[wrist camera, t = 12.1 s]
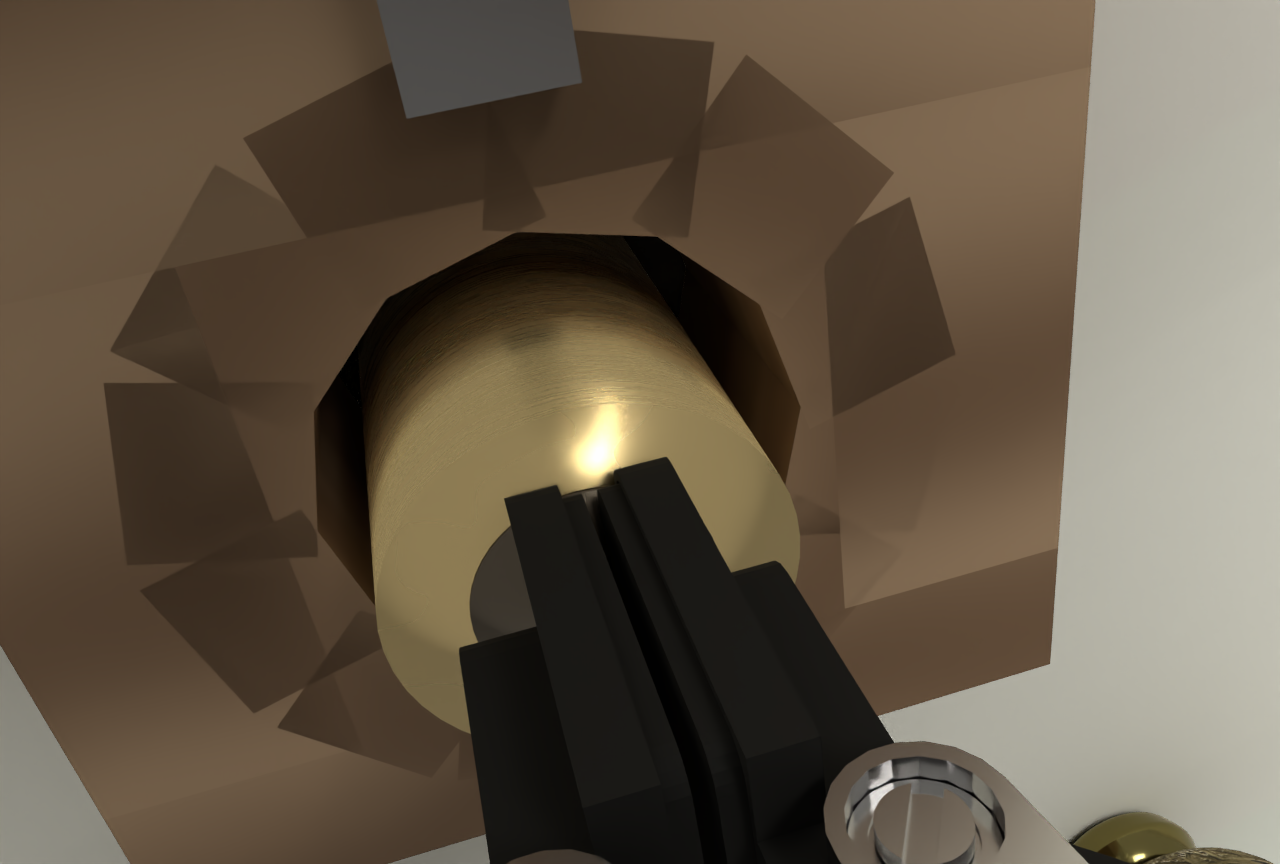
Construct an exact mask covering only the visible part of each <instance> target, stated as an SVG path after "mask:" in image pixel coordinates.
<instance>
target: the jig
mask: <svg viewBox="0 0 1280 864" xmlns="http://www.w3.org/2000/svg"><path fill="white" fill-rule="evenodd" d="M1094 12H1095V0H0V645H1V647H2V649H3V650H4V652H5V654H6V655H7V657H8V659H9V660H10V662H11V664H12V665H13V667H14V669H15V670H16V672H17V674H18V676H19V677H20V679H21V681H22V682H23V684H24V686H25V687H26V689H27V691H28V692H29V694H30V696H31V697H32V699H33V701H34V702H35V704H36V706H37V707H38V709H39V711H40V712H41V714H42V716H43V718H44V719H45V721H46V723H47V724H48V726H49V728H50V729H51V731H52V733H53V734H54V736H55V738H56V739H57V741H58V743H59V744H60V746H61V748H62V749H63V751H64V753H65V755H66V756H67V758H68V760H69V761H70V763H71V765H72V766H73V768H74V770H75V771H76V773H77V775H78V776H79V778H80V780H81V781H82V783H83V785H84V786H85V788H86V790H87V791H88V793H89V795H90V797H91V798H92V800H93V802H94V803H95V805H96V807H97V808H98V810H99V812H100V813H101V815H102V817H103V818H104V820H105V822H106V823H107V825H108V827H109V828H110V830H111V832H112V833H113V835H114V837H115V839H116V840H117V842H118V844H119V845H120V847H121V849H122V850H123V852H124V854H125V855H126V857H127V859H128V860H129V862H130V864H388V863H392V862H395V861H398V860H401V859H405V858H408V857H411V856H415V855H418V854H421V853H425V852H428V851H431V850H435V849H438V848H441V847H445V846H448V845H451V844H455V843H458V842H461V841H464V840H468V839H471V838H474V837H478V836H481V835H484V834H486V832H485V826H484V819H483V812H482V806H481V799H480V792H479V785H478V779H477V772H476V765H475V759H474V752H473V745H472V739H471V734H469V733H467V732H464V731H462V730H459V729H458V728H456V727H454V726H452V725H450V724H448V723H446V722H445V721H443V720H441V719H439V718H438V717H437V716H435V715H434V714H432V713H431V712H430V711H428V710H427V709H426V708H424V707H423V706H422V705H421V704H420V703H419V702H418V701H417V700H416V699H415V698H414V697H413V696H412V695H411V694H410V693H409V692H408V691H407V690H406V689H405V688H404V686H403V685H402V683H401V682H400V681H399V679H398V678H397V676H396V675H395V674H394V672H393V670H392V668H391V666H390V664H389V662H388V660H387V658H386V656H385V654H384V651H383V647H382V644H381V640H380V637H379V633H378V627H377V617H376V607H375V592H374V578H373V563H372V549H371V534H370V520H369V505H368V491H367V476H366V462H365V447H364V433H363V418H362V409H361V408H360V406H359V405H358V403H357V402H356V400H355V399H354V398H353V396H352V395H351V393H350V392H349V390H348V389H347V387H346V386H345V384H344V383H343V381H342V380H341V378H340V377H339V376H338V373H339V371H340V370H341V368H342V367H343V365H344V364H345V362H346V361H347V359H348V357H349V356H350V354H351V353H352V351H353V350H354V348H355V346H356V345H357V343H358V342H359V340H360V339H361V337H362V336H363V334H364V332H365V331H366V329H367V328H368V326H369V325H370V323H371V321H372V320H373V318H374V317H375V315H376V314H377V312H378V311H379V309H380V307H381V306H382V304H383V303H384V301H385V300H386V298H388V297H390V296H392V295H394V294H396V293H398V292H400V291H402V290H404V289H406V288H408V287H410V286H411V285H413V284H415V283H417V282H419V281H421V280H423V279H425V278H427V277H429V276H431V275H433V274H435V273H437V272H439V271H441V270H443V269H445V268H447V267H449V266H451V265H453V264H454V263H456V262H458V261H460V260H462V259H464V258H466V257H468V256H470V255H472V254H474V253H476V252H478V251H480V250H482V249H484V248H486V247H488V246H490V245H492V244H494V243H496V242H498V241H499V240H501V239H503V238H505V237H507V236H509V235H511V234H513V233H515V232H538V233H568V234H598V235H628V236H657V237H659V238H660V239H662V240H663V241H665V242H666V243H668V244H669V245H671V246H672V247H674V248H675V249H677V250H678V251H679V253H680V255H681V257H682V260H683V262H684V264H685V275H684V282H683V289H682V297H681V304H680V311H679V319H678V321H679V323H680V324H681V326H682V327H683V329H684V330H685V332H686V333H687V335H688V336H689V338H690V339H691V341H692V342H693V344H694V346H695V347H696V349H697V350H698V352H699V353H700V355H701V356H702V358H703V359H704V361H705V362H706V364H707V365H708V367H709V368H710V370H711V371H712V373H713V374H714V376H715V378H716V379H717V381H718V382H719V384H720V385H721V387H722V388H723V390H724V391H725V393H726V394H727V396H728V397H729V399H730V400H731V402H732V403H733V405H734V406H735V408H736V410H737V411H738V413H739V414H740V416H741V417H742V419H743V420H744V422H745V423H746V425H747V426H748V428H749V429H750V431H751V432H752V434H753V435H754V437H755V438H756V440H757V441H758V443H759V445H760V446H761V448H762V449H763V451H764V452H765V454H766V455H767V457H768V458H769V460H770V461H771V463H772V464H773V466H774V467H775V469H776V470H777V472H778V473H779V475H780V477H781V479H782V481H783V482H784V484H785V486H786V488H787V490H788V492H789V493H790V496H791V499H792V502H793V505H794V508H795V511H796V514H797V519H798V526H799V532H800V560H799V566H798V572H797V578H796V582H795V585H796V587H797V588H798V590H799V591H800V593H801V595H802V596H803V598H804V599H805V601H806V603H807V604H808V606H809V607H810V609H811V611H812V612H813V614H814V615H815V617H816V619H817V620H818V622H819V623H820V625H821V627H822V628H823V630H824V631H825V633H826V635H827V636H828V638H829V639H830V641H831V643H832V644H833V646H834V647H835V649H836V651H837V652H838V654H839V655H840V657H841V659H842V660H843V662H844V663H845V665H846V667H847V668H848V670H849V671H850V673H851V675H852V676H853V678H854V679H855V681H856V683H857V684H858V686H859V687H860V689H861V691H862V692H863V694H864V695H865V697H866V699H867V700H868V702H869V703H870V705H871V707H872V708H873V710H874V711H875V713H876V715H877V716H879V715H882V714H886V713H889V712H892V711H896V710H899V709H902V708H905V707H909V706H912V705H915V704H919V703H922V702H925V701H929V700H932V699H935V698H939V697H942V696H945V695H949V694H952V693H955V692H959V691H962V690H965V689H969V688H972V687H975V686H978V685H982V684H985V683H988V682H992V681H995V680H998V679H1002V678H1005V677H1008V676H1012V675H1015V674H1018V673H1022V672H1025V671H1028V670H1032V669H1035V668H1038V667H1041V666H1045V665H1048V664H1050V657H1051V642H1052V628H1053V613H1054V598H1055V584H1056V569H1057V554H1058V540H1059V525H1060V510H1061V496H1062V481H1063V466H1064V452H1065V437H1066V423H1067V408H1068V393H1069V379H1070V364H1071V349H1072V335H1073V320H1074V305H1075V291H1076V276H1077V261H1078V247H1079V232H1080V218H1081V203H1082V188H1083V174H1084V159H1085V144H1086V130H1087V115H1088V100H1089V86H1090V71H1091V56H1092V42H1093V27H1094Z"/></svg>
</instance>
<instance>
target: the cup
mask: <svg viewBox="0 0 1280 864" xmlns="http://www.w3.org/2000/svg"><path fill="white" fill-rule="evenodd" d="M1073 845H1076V846H1079V847H1082V848H1086V849H1089V850H1092V851H1095V852H1098V853H1101V854H1104V855H1107V856H1110V857H1113V858H1116V859H1119V860H1122V861H1125V862H1128V863H1131V864H1273V863H1271V862H1269V861H1267V860H1265V859H1263V858H1260V857H1257V856H1254V855H1251V854H1248V853H1244V852H1241V851H1236V850H1230V849H1223V848H1196V846H1195V844H1194V841H1193V840H1192V838H1191V836H1190V835H1189V834H1188V833H1187V832H1186V831H1185V830H1184V829H1183V828H1182V827H1180V826H1178V825H1177V824H1175V823H1173V822H1171V821H1170V820H1168V819H1166V818H1164V817H1162V816H1159V815H1156V814H1153V813H1148V812H1132V813H1126V814H1122V815H1118V816H1115V817H1112V818H1110V819H1107V820H1105V821H1103V822H1101V823H1100V824H1098V825H1096V826H1094V827H1093V828H1091V829H1090V830H1088V831H1087V832H1086V833H1084V834H1083V835H1082V836H1081V837H1080V838H1079V839H1078V840H1077V841H1076V842H1075V843H1074V844H1073Z"/></svg>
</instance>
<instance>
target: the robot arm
mask: <svg viewBox="0 0 1280 864" xmlns="http://www.w3.org/2000/svg"><path fill="white" fill-rule="evenodd" d="M614 481H615V485H611V486H607V487H604V488H600V489H597V496H598V502H599V507H600V512H601V517H602V522H603V527H604V532H605V537H606V542H607V547H608V552H609V557H610V562H611V567H612V572H613V574H612V572H611V569H610V566H609V564H608V561H607V558H606V556H605V553H604V551H603V548H602V545H601V543H600V540H599V537H598V535H597V532H596V529H595V527H594V524H593V522H592V519H591V516H590V514H589V511H588V508H587V506H586V503H585V500H584V498H583V496H582V494H581V493H580V494H577V495H573V496H569V497H565V498H562V497H561V494H560V491H559V489H558V486H557V485H554V486H550V487H546V488H542V489H538V490H534V491H530V492H527V493H523V494H519V495H515V496H511V497H507V498H504V501H505V505H506V509H507V513H508V517H509V520H510V524H511V528H512V532H513V536H514V540H515V544H516V548H517V552H518V556H519V560H520V564H521V568H522V572H523V576H524V580H525V584H526V587H527V591H528V595H529V599H530V603H531V607H532V611H533V615H534V619H535V623H536V627H532V628H529V629H525V630H521V631H518V632H514V633H511V634H507V635H503V636H500V637H496V638H492V639H489V640H485V641H482V642H478V643H474V644H471V645H467V646H463V647H460V648H459V657H460V665H461V672H462V679H463V685H464V692H465V699H466V705H467V712H468V719H469V725H470V732H471V739H472V745H473V752H474V759H475V765H476V772H477V779H478V785H479V792H480V799H481V806H482V812H483V819H484V826H485V832H486V839H487V846H488V852H489V859H490V864H1131V863H1128V862H1125V861H1122V860H1119V859H1116V858H1113V857H1110V856H1107V855H1104V854H1101V853H1098V852H1095V851H1092V850H1089V849H1086V848H1082V847H1079V846H1076V845H1073V844H1070V843H1068V842H1067V841H1066V840H1065V839H1064V838H1063V837H1062V836H1061V835H1060V833H1059V832H1058V831H1057V830H1056V829H1055V828H1054V827H1053V826H1052V825H1051V824H1050V823H1049V822H1048V821H1047V820H1046V819H1045V818H1044V817H1043V816H1042V815H1041V814H1040V813H1039V812H1038V811H1037V810H1036V809H1035V808H1034V807H1033V806H1032V804H1031V803H1030V802H1029V801H1028V800H1027V799H1026V798H1025V797H1024V796H1023V795H1022V794H1021V793H1020V792H1019V791H1018V790H1017V789H1016V788H1015V787H1014V786H1013V785H1012V784H1011V783H1010V782H1009V781H1008V780H1007V779H1006V778H1005V777H1004V776H1003V775H1002V774H1000V773H999V772H998V771H997V770H995V769H994V768H993V767H991V766H990V765H989V764H988V763H986V762H985V761H984V760H983V759H981V758H978V757H976V756H974V755H972V754H969V753H967V752H965V751H963V750H960V749H958V748H956V747H952V746H947V745H941V744H936V743H931V742H925V741H922V742H899V743H894V742H893V740H892V739H891V737H890V735H889V734H888V732H887V731H886V729H885V727H884V726H883V724H882V723H881V721H880V719H879V718H878V716H877V715H876V713H875V711H874V710H873V708H872V707H871V705H870V703H869V702H868V700H867V699H866V697H865V695H864V694H863V692H862V691H861V689H860V687H859V686H858V684H857V683H856V681H855V679H854V678H853V676H852V675H851V673H850V671H849V670H848V668H847V667H846V665H845V663H844V662H843V660H842V659H841V657H840V655H839V654H838V652H837V651H836V649H835V647H834V646H833V644H832V643H831V641H830V639H829V638H828V636H827V635H826V633H825V631H824V630H823V628H822V627H821V625H820V623H819V622H818V620H817V619H816V617H815V615H814V614H813V612H812V611H811V609H810V607H809V606H808V604H807V603H806V601H805V599H804V598H803V596H802V595H801V593H800V591H799V590H798V588H797V587H796V585H795V583H794V582H793V580H792V579H791V577H790V575H789V574H788V572H787V571H786V570H785V568H784V567H783V566H782V565H781V563H779V562H777V561H771V562H767V563H764V564H760V565H757V566H753V567H749V568H746V569H742V570H738V571H735V572H731V571H730V569H729V568H728V566H727V564H726V562H725V560H724V558H723V557H722V555H721V553H720V551H719V549H718V547H717V546H716V544H715V542H714V540H713V538H712V536H711V535H710V533H709V531H708V529H707V527H706V526H705V524H704V522H703V520H702V518H701V516H700V515H699V513H698V511H697V509H696V507H695V505H694V504H693V502H692V500H691V498H690V496H689V494H688V493H687V491H686V489H685V487H684V485H683V483H682V482H681V480H680V478H679V476H678V474H677V472H676V471H675V469H674V467H673V465H672V463H671V462H670V460H669V459H668V457H662V458H658V459H654V460H651V461H647V462H643V463H639V464H635V465H631V466H627V467H623V468H620V469H616V470H614Z"/></svg>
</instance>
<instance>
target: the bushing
mask: <svg viewBox="0 0 1280 864" xmlns="http://www.w3.org/2000/svg"><path fill="white" fill-rule="evenodd" d="M357 346H358V360H359V375H360V389H361V404H362V418H363V433H364V447H365V462H366V476H367V491H368V505H369V520H370V534H371V549H372V563H373V578H374V592H375V607H376V617H377V627H378V633H379V637H380V640H381V644H382V647H383V651H384V654H385V656H386V658H387V660H388V662H389V664H390V666H391V668H392V670H393V672H394V674H395V675H396V676H397V678H398V679H399V681H400V682H401V683H402V685H403V686H404V688H405V689H406V690H407V691H408V692H409V693H410V694H411V695H412V696H413V697H414V698H415V699H416V700H417V701H418V702H419V703H420V704H421V705H422V706H423V707H424V708H426V709H427V710H428V711H430V712H431V713H432V714H434V715H435V716H437V717H438V718H439V719H441V720H443V721H445V722H446V723H448V724H450V725H452V726H454V727H456V728H458V729H459V730H462V731H464V732H467V733H469V734H471V732H470V725H469V719H468V712H467V705H466V699H465V692H464V685H463V679H462V672H461V665H460V657H459V648H460V647H463V646H467V645H471V644H474V643H478V642H482V641H485V640H489V639H492V638H496V637H500V636H503V635H507V634H511V633H514V632H518V631H521V630H525V629H529V628H532V627H536V623H535V619H534V615H533V611H532V607H531V603H530V599H529V595H528V591H527V587H526V584H525V580H524V576H523V572H522V568H521V564H520V560H519V556H518V552H517V548H516V544H515V540H514V536H513V532H512V528H511V524H510V520H509V517H508V513H507V509H506V505H505V501H504V498H507V497H511V496H515V495H519V494H523V493H527V492H530V491H534V490H538V489H542V488H546V487H550V486H554V485H557V486H558V489H559V491H560V494H561V497H562V498H565V497H569V496H573V495H577V494H580V493H581V494H582V496H583V498H584V500H585V503H586V506H587V508H588V511H589V514H590V516H591V519H592V522H593V524H594V527H595V529H596V532H597V535H598V537H599V540H600V543H601V545H602V548H603V551H604V553H605V556H606V558H607V561H608V564H609V566H610V569H611V572H612V567H611V562H610V557H609V552H608V547H607V542H606V537H605V532H604V527H603V522H602V517H601V512H600V507H599V502H598V496H597V489H600V488H604V487H607V486H611V485H615V481H614V470H616V469H620V468H623V467H627V466H631V465H635V464H639V463H643V462H647V461H651V460H654V459H658V458H662V457H668V459H669V460H670V462H671V463H672V465H673V467H674V469H675V471H676V472H677V474H678V476H679V478H680V480H681V482H682V483H683V485H684V487H685V489H686V491H687V493H688V494H689V496H690V498H691V500H692V502H693V504H694V505H695V507H696V509H697V511H698V513H699V515H700V516H701V518H702V520H703V522H704V524H705V526H706V527H707V529H708V531H709V533H710V535H711V536H712V538H713V540H714V542H715V544H716V546H717V547H718V549H719V551H720V553H721V555H722V557H723V558H724V560H725V562H726V564H727V566H728V568H729V569H730V571H731V572H735V571H738V570H742V569H746V568H749V567H753V566H757V565H760V564H764V563H767V562H771V561H777V562H779V563H781V565H782V566H783V567H784V568H785V570H786V571H787V572H788V574H789V575H790V577H791V579H792V580H793V582H794V583H795V582H796V578H797V572H798V566H799V560H800V532H799V526H798V519H797V514H796V511H795V508H794V505H793V502H792V499H791V496H790V493H789V492H788V490H787V488H786V486H785V484H784V482H783V481H782V479H781V477H780V475H779V473H778V472H777V470H776V469H775V467H774V466H773V464H772V463H771V461H770V460H769V458H768V457H767V455H766V454H765V452H764V451H763V449H762V448H761V446H760V445H759V443H758V441H757V440H756V438H755V437H754V435H753V434H752V432H751V431H750V429H749V428H748V426H747V425H746V423H745V422H744V420H743V419H742V417H741V416H740V414H739V413H738V411H737V410H736V408H735V406H734V405H733V403H732V402H731V400H730V399H729V397H728V396H727V394H726V393H725V391H724V390H723V388H722V387H721V385H720V384H719V382H718V381H717V379H716V378H715V376H714V374H713V373H712V371H711V370H710V368H709V367H708V365H707V364H706V362H705V361H704V359H703V358H702V356H701V355H700V353H699V352H698V350H697V349H696V347H695V346H694V344H693V342H692V341H691V339H690V338H689V336H688V335H687V333H686V332H685V330H684V329H683V327H682V326H681V324H680V323H679V321H678V320H677V318H676V317H675V315H674V314H673V312H672V310H671V309H670V307H669V306H668V304H667V303H666V301H665V300H664V298H663V297H662V295H661V294H660V292H659V291H658V289H657V288H656V286H655V285H654V283H653V282H652V280H651V278H650V277H649V275H648V274H647V272H646V271H645V269H644V268H643V266H642V265H641V263H640V262H639V260H638V259H637V257H636V256H635V254H634V253H633V251H632V250H631V248H630V246H629V245H628V243H627V242H626V240H625V239H624V237H623V236H622V235H598V234H568V233H538V232H515V233H513V234H511V235H509V236H507V237H505V238H503V239H501V240H499V241H498V242H496V243H494V244H492V245H490V246H488V247H486V248H484V249H482V250H480V251H478V252H476V253H474V254H472V255H470V256H468V257H466V258H464V259H462V260H460V261H458V262H456V263H454V264H453V265H451V266H449V267H447V268H445V269H443V270H441V271H439V272H437V273H435V274H433V275H431V276H429V277H427V278H425V279H423V280H421V281H419V282H417V283H415V284H413V285H411V286H410V287H408V288H406V289H404V290H402V291H400V292H398V293H396V294H394V295H392V296H390V297H388V298H386V300H385V301H384V303H383V304H382V306H381V307H380V309H379V311H378V312H377V314H376V315H375V317H374V318H373V320H372V321H371V323H370V325H369V326H368V328H367V329H366V331H365V332H364V334H363V336H362V337H361V339H360V340H359V342H358V343H357ZM612 574H613V572H612Z"/></svg>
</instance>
